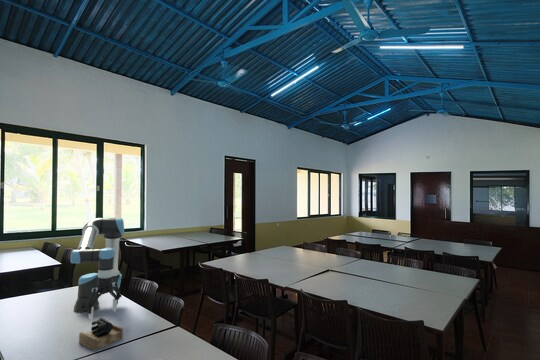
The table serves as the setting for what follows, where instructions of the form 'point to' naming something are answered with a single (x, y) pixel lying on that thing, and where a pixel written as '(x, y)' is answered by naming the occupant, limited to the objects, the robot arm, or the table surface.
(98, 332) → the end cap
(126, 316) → the table surface
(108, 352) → the table surface
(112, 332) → the pedestal
